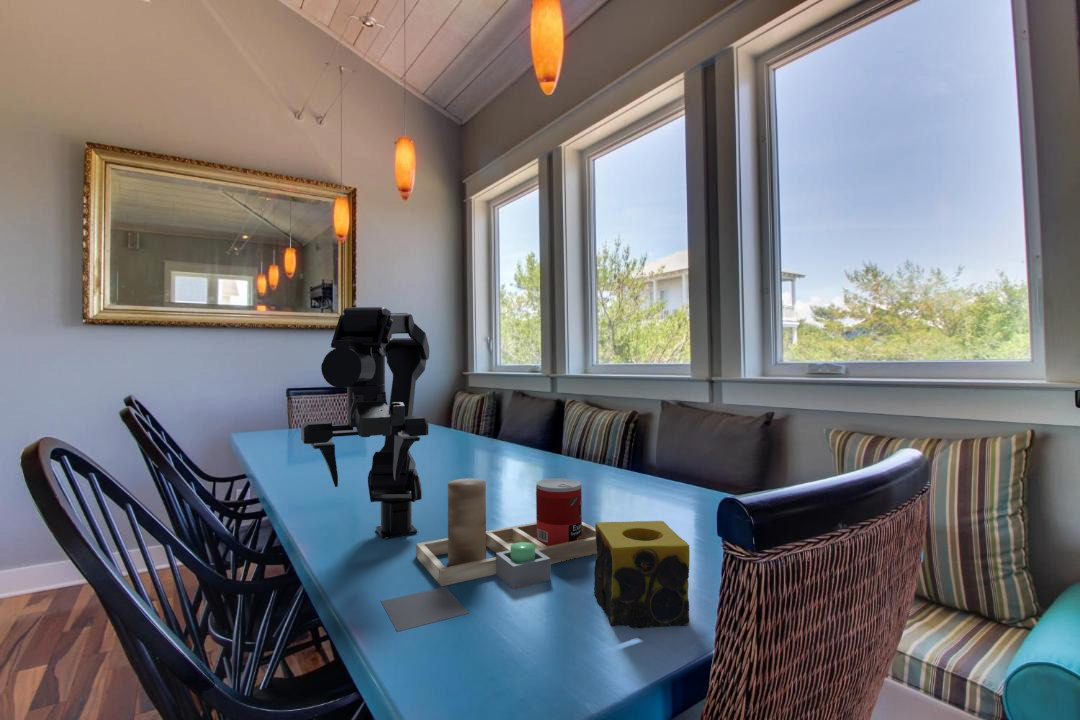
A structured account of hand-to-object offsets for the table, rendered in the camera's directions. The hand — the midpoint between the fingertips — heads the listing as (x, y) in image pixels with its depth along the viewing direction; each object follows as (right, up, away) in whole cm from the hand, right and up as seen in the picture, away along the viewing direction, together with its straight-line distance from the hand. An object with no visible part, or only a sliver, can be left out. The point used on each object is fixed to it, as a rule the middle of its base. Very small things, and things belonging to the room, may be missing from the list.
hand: (366, 483), depth 82 cm
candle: (+41, -13, -15) cm, 45 cm away
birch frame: (+24, -13, +4) cm, 27 cm away
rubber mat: (+13, -13, -15) cm, 24 cm away
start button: (+25, -11, -6) cm, 28 cm away
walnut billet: (+16, -13, 0) cm, 21 cm away
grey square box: (+25, -13, -6) cm, 29 cm away
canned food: (+31, -13, +8) cm, 35 cm away
